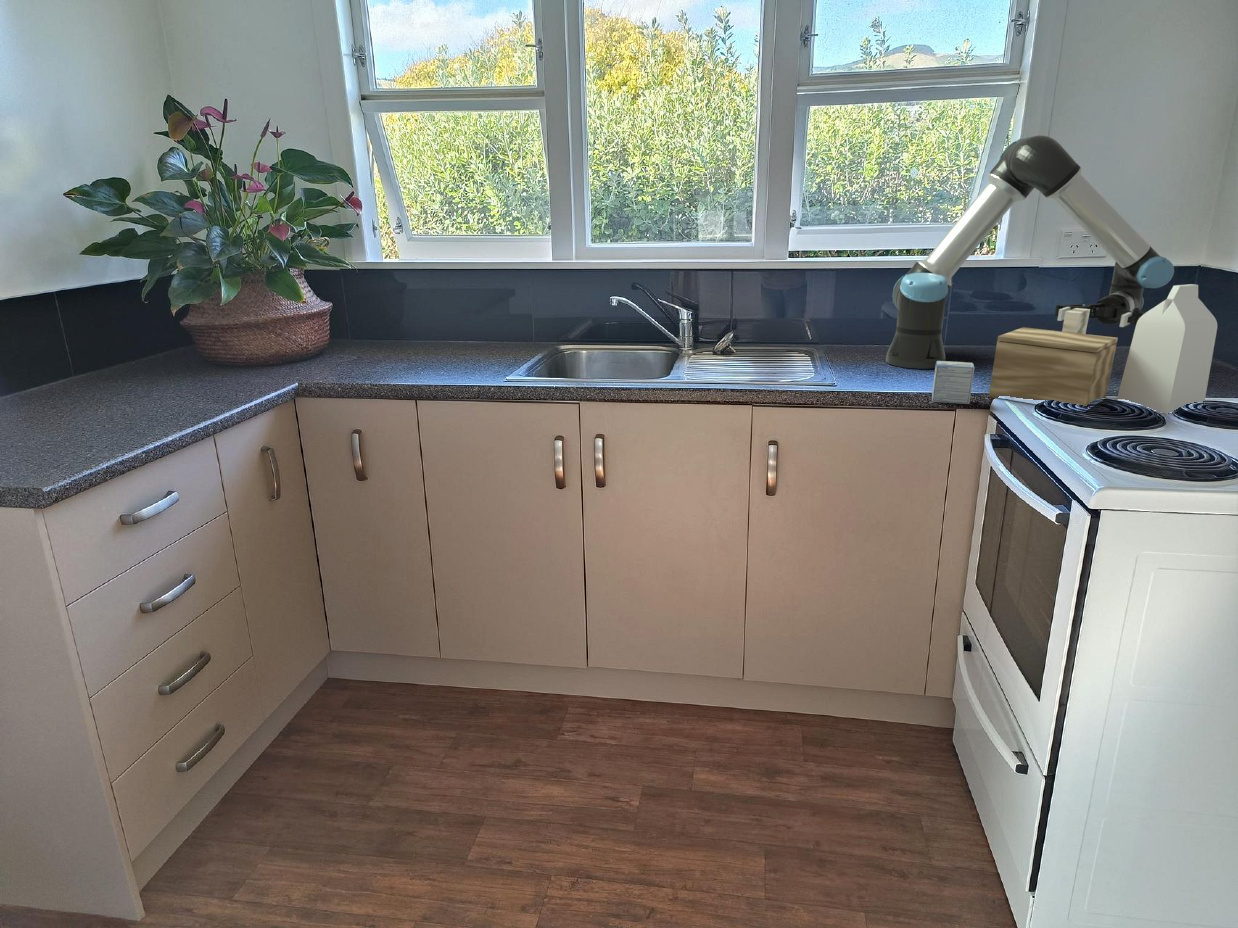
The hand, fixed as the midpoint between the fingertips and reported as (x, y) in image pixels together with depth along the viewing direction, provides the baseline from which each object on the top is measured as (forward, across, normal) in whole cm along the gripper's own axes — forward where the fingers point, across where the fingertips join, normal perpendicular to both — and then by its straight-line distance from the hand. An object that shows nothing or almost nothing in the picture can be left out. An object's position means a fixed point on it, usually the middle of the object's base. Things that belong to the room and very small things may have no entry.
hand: (1090, 318), depth 194 cm
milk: (+13, -20, -16) cm, 28 cm away
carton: (+23, 0, -16) cm, 28 cm away
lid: (+19, 0, -5) cm, 20 cm away
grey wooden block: (+41, +15, -16) cm, 46 cm away
